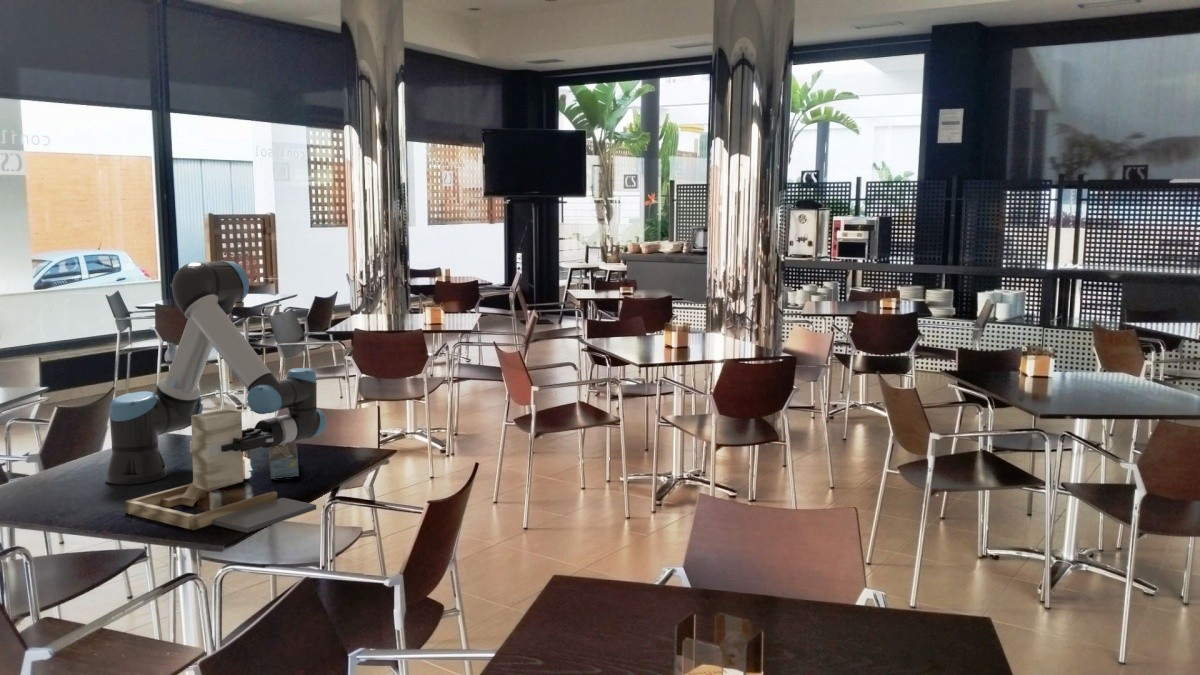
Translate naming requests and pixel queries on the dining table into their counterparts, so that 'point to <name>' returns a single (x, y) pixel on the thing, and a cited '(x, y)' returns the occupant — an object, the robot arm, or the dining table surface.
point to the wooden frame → (151, 510)
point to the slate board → (264, 515)
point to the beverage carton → (283, 461)
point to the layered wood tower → (223, 466)
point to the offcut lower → (177, 499)
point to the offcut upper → (191, 495)
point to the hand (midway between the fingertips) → (199, 448)
